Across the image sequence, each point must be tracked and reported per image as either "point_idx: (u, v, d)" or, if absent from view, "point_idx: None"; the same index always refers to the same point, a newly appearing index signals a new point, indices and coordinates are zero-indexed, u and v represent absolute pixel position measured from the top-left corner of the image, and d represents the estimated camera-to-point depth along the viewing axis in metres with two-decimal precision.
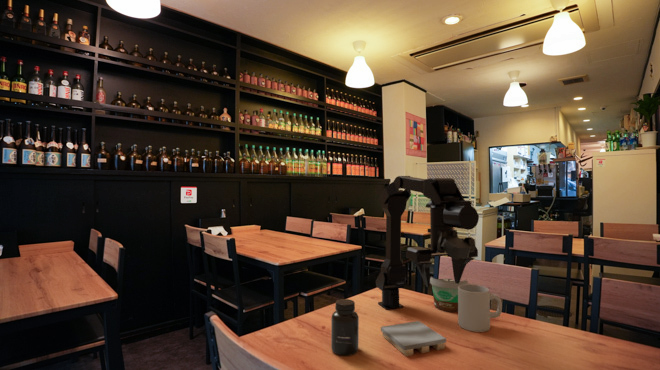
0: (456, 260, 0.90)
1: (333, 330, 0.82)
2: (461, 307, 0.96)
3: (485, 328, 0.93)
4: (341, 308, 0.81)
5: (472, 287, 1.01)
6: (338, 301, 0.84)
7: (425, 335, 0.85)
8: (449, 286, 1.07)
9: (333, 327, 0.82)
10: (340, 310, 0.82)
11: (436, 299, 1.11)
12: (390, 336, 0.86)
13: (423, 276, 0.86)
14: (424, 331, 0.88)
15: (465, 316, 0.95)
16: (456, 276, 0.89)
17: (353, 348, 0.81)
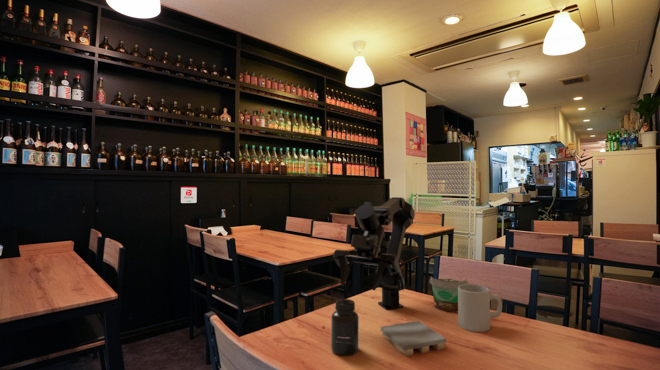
0: None
1: (333, 330, 0.82)
2: (461, 307, 0.96)
3: (485, 328, 0.93)
4: (341, 308, 0.81)
5: (472, 287, 1.01)
6: (338, 301, 0.84)
7: (425, 335, 0.85)
8: (449, 286, 1.07)
9: (333, 327, 0.82)
10: (340, 310, 0.82)
11: (436, 299, 1.11)
12: (390, 336, 0.86)
13: None
14: (424, 331, 0.88)
15: (465, 316, 0.95)
16: None
17: (353, 348, 0.81)
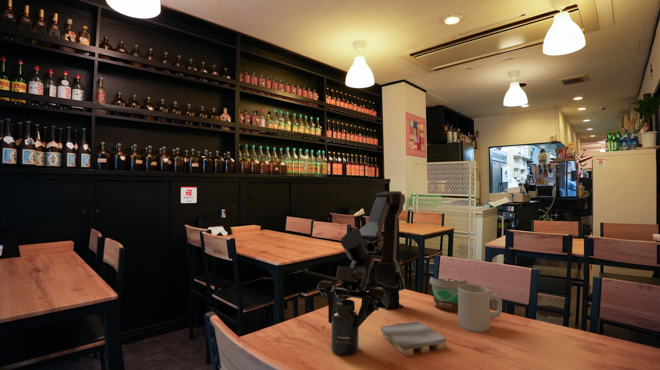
0: None
1: (333, 330, 0.82)
2: (461, 307, 0.96)
3: (485, 328, 0.93)
4: (341, 308, 0.81)
5: (472, 287, 1.01)
6: (338, 301, 0.84)
7: (425, 335, 0.85)
8: (449, 286, 1.07)
9: (333, 327, 0.82)
10: (340, 310, 0.82)
11: (436, 299, 1.11)
12: (390, 336, 0.86)
13: None
14: (424, 331, 0.88)
15: (465, 316, 0.95)
16: None
17: (353, 348, 0.81)
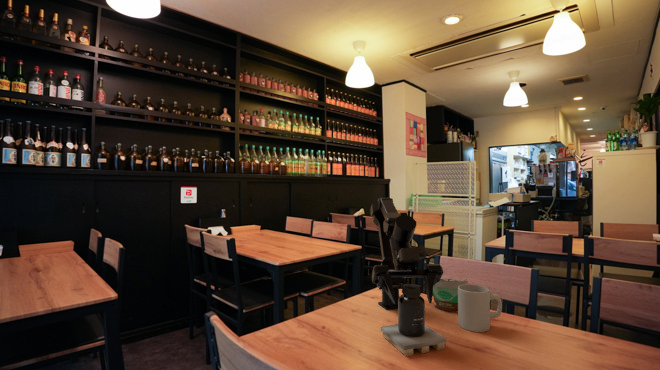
0: (426, 283, 0.91)
1: (407, 314, 0.85)
2: (461, 307, 0.96)
3: (485, 328, 0.93)
4: (414, 291, 0.85)
5: (472, 287, 1.01)
6: (405, 286, 0.87)
7: (425, 335, 0.85)
8: (449, 286, 1.07)
9: (408, 311, 0.85)
10: (413, 294, 0.85)
11: (436, 299, 1.11)
12: (390, 336, 0.86)
13: (389, 294, 0.88)
14: None
15: (465, 316, 0.95)
16: (428, 296, 0.88)
17: (424, 327, 0.86)
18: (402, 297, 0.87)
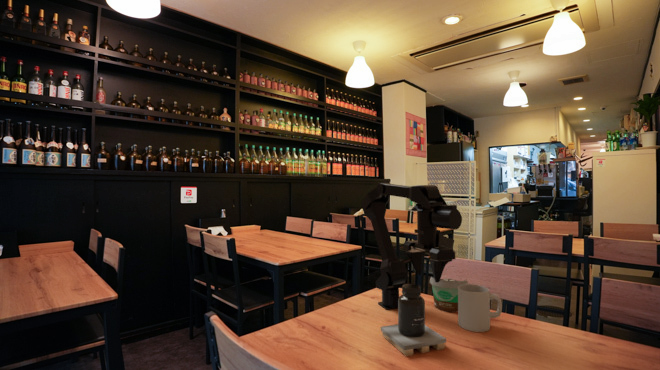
0: (416, 255, 1.05)
1: (408, 315, 0.85)
2: (461, 307, 0.96)
3: (485, 328, 0.93)
4: (414, 292, 0.85)
5: (472, 287, 1.01)
6: (406, 286, 0.87)
7: (425, 335, 0.85)
8: (449, 286, 1.07)
9: (408, 311, 0.85)
10: (413, 294, 0.85)
11: (436, 299, 1.11)
12: (390, 336, 0.86)
13: (438, 273, 0.95)
14: None
15: (465, 316, 0.95)
16: (419, 268, 1.05)
17: (424, 327, 0.86)
18: (402, 297, 0.87)
